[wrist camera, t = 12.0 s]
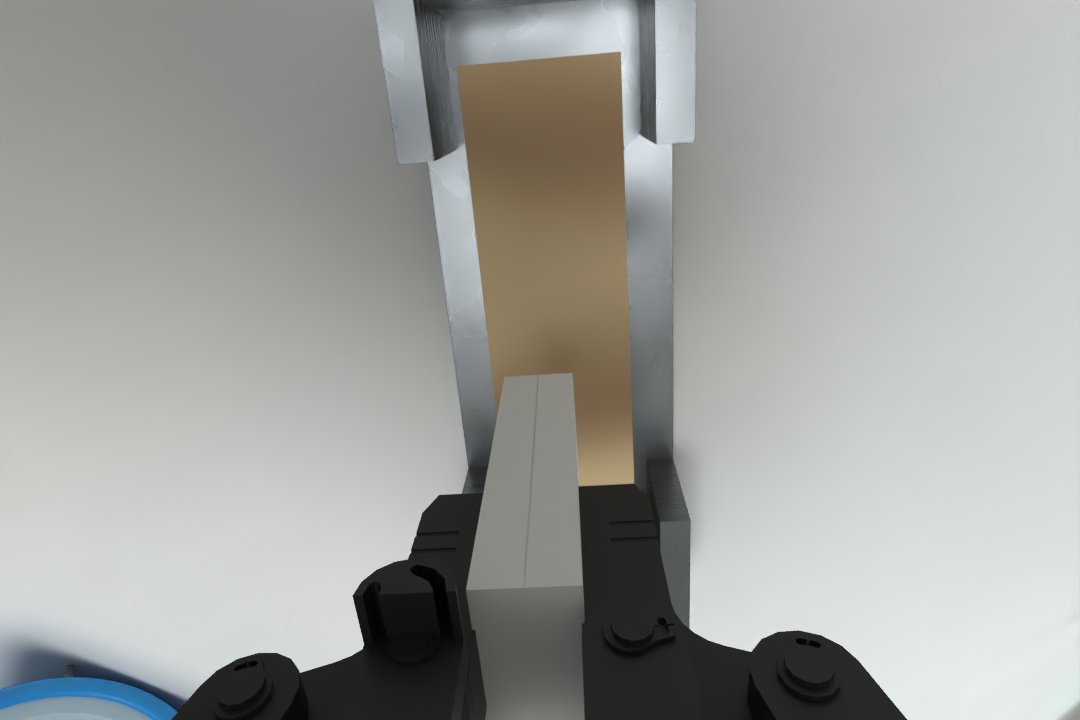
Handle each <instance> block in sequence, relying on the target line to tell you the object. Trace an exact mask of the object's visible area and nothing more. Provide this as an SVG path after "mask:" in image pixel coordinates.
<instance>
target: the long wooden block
mask: <svg viewBox="0 0 1080 720" xmlns="http://www.w3.org/2000/svg"><path fill="white" fill-rule="evenodd" d="M456 69H457V78H458V86H459V95H460V103H461V112H462V121H463V129H464V138H465V147H466V155H467V164H468V173H469V181H470V190H471V199H472V207H473V216H474V224H475V233H476V242H477V250H478V259H479V268H480V276H481V285H482V294H483V302H484V311H485V320H486V328H487V337H488V346H489V354H490V363H491V371H492V380H493V389H494V397H495V406H496V415H498V410H499V404H500V398H501V393H502V387H503V382H504V377H511V376H528V375H545V374H563V373H573V388H574V404H575V420H576V437H577V453H578V469H579V486H594V485H615V484H634V461H633V428H632V396H631V363H630V331H629V299H628V266H627V234H626V201H625V169H624V136H623V104H622V71H621V52H610V53H599V54H588V55H577V56H566V57H554V58H543V59H532V60H521V61H509V62H498V63H487V64H476V65H465V66H456Z"/></svg>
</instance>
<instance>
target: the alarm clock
mask: <svg viewBox="0 0 1080 720" xmlns="http://www.w3.org/2000/svg"><path fill="white" fill-rule="evenodd" d="M176 714H177V711H176V710H175V709H174V708H172V707H171V706H169V705H168V704H167V703H165V702H164V701H162V700H161V699H159V698H157V697H155V696H154V695H152V694H150V693H148V692H145V691H143V690H141V689H139V688H136V687H133V686H130V685H127V684H123V683H119V682H115V681H111V680H104V679H98V678H85V677H73V665H67V668H66V671H65V673H64V676H63V678H51V679H44V680H37V681H31V682H27V683H22V684H17V685H13V686H10V687H6V688H3V689H0V720H171V719H172V718H173V717H174V716H175V715H176Z"/></svg>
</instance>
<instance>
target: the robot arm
mask: <svg viewBox="0 0 1080 720" xmlns="http://www.w3.org/2000/svg"><path fill="white" fill-rule="evenodd" d="M353 599H354V603H355V608H356V612H357V616H358V620H359V624H360V628H361V633H362V637H363V641H364V647H363V649H362V650H361V651H359V652H357V653H356V654H354V655H352V656H350V657H348V658H345V659H343V660H340V661H338V662H335V663H332V664H328V665H325V666H322V667H318V668H315V669H312V670H309V671H305V672H302V673H300V672H299V670H298V668H297V667H296V665H295V664H294V663H293V661H292V660H291V659H290V658H287V657H285V656H282V655H280V654H278V653H257V654H254V655H250V656H247V657H243V658H240V659H237V660H235V661H233V662H232V663H230V664H228V665H226V666H225V667H223V668H221V669H219V670H217V671H216V672H215V673H214V674H213V675H212V676H211V677H210V678H208V679H207V680H206V681H205V682H204V683H203V684H202V685H201V686H200V687H199V688H198V689H197V690H196V691H195V693H194V694H193V695H192V696H191V697H190V698H189V700H188V701H187V702H186V703H185V704H184V705H183V707H182V708H181V709H180V710H179V711H178V712H177V714H176V715H175V716H174V717H173V718H172V719H171V720H485V718H486V720H907V719H906V718H905V717H904V715H903V714H902V713H901V712H900V711H899V709H898V708H897V707H896V706H895V705H894V703H893V702H892V701H891V700H890V698H889V697H888V696H887V695H886V694H885V692H884V691H883V690H882V689H881V688H880V686H879V685H878V684H877V683H876V682H875V680H874V679H873V678H872V677H871V675H870V674H869V673H868V672H867V671H866V669H865V668H864V667H863V666H862V665H861V663H860V662H859V661H858V660H857V659H856V658H855V657H853V656H852V655H851V654H850V653H849V652H848V651H847V650H846V649H845V648H843V647H842V646H841V645H839V644H837V643H835V642H833V641H831V640H829V639H827V638H825V637H823V636H821V635H816V634H812V633H807V632H802V631H786V632H777V633H775V634H772V635H770V636H768V637H766V638H764V639H761V641H760V642H759V643H758V644H757V646H756V647H755V648H754V649H753V651H752V652H749V651H744V650H740V649H736V648H731V647H727V646H723V645H720V644H717V643H714V642H711V641H708V640H706V639H704V638H702V637H701V636H699V635H697V634H695V633H694V632H692V631H691V630H690V629H689V628H688V627H686V626H685V625H684V624H683V623H682V621H681V620H680V619H679V617H678V616H677V615H676V613H675V611H674V608H673V606H672V603H671V599H670V594H669V590H668V585H667V580H666V576H665V571H664V566H663V562H662V557H661V552H660V548H659V543H658V541H657V534H656V529H655V524H654V520H653V515H652V510H651V506H650V501H649V499H648V498H647V497H646V496H645V495H644V494H643V493H642V492H641V491H640V489H639V488H638V487H637V486H636V485H635V484H615V485H594V486H579V469H578V453H577V437H576V420H575V404H574V388H573V373H563V374H545V375H528V376H511V377H504V382H503V387H502V393H501V398H500V404H499V410H498V415H497V421H496V426H495V432H494V437H493V443H492V448H491V454H490V460H489V465H488V471H487V476H486V482H485V487H484V493H472V494H451V495H439V496H438V497H437V498H436V499H435V500H434V501H433V502H432V503H431V505H430V506H429V507H428V508H427V509H426V510H425V511H424V512H423V513H422V517H421V520H420V523H419V526H418V530H417V536H416V537H415V539H414V542H413V546H412V549H411V554H410V555H409V558H408V560H403V561H397V562H394V563H391V564H389V565H387V566H385V567H382V568H380V569H378V570H376V571H375V572H374V573H372V574H371V575H370V576H368V577H367V578H366V579H365V580H363V581H362V582H361V584H360V585H359V587H358V588H357V590H356V591H355V593H354V595H353Z"/></svg>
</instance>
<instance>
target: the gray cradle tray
mask: <svg viewBox="0 0 1080 720" xmlns="http://www.w3.org/2000/svg"><path fill="white" fill-rule="evenodd" d="M373 2H374V9H375V16H376V22H377V29H378V36H379V42H380V49H381V56H382V62H383V69H384V76H385V82H386V89H387V96H388V103H389V109H390V116H391V123H392V129H393V136H394V143H395V149H396V156H397V163H398V164H410V163H423V162H428V166H429V174H430V181H431V189H432V196H433V204H434V211H435V219H436V226H437V234H438V241H439V249H440V256H441V264H442V271H443V279H444V286H445V294H446V302H447V309H448V317H449V324H450V332H451V339H452V347H453V354H454V362H455V369H456V377H457V384H458V392H459V399H460V407H461V414H462V422H463V429H464V437H465V444H466V452H467V459H468V467H469V469H468V473H467V476H466V480H465V484H464V488H463V492H462V494H472V493H484V487H485V482H486V476H487V471H488V465H489V460H490V454H491V448H492V443H493V437H494V432H495V426H496V421H497V415H496V406H495V397H494V389H493V380H492V371H491V363H490V354H489V346H488V337H487V328H486V320H485V311H484V302H483V294H482V285H481V276H480V268H479V259H478V250H477V242H476V233H475V224H474V216H473V207H472V199H471V190H470V181H469V173H468V164H467V155H466V147H465V138H464V129H463V121H462V112H461V103H460V95H459V86H458V78H457V69H456V66H465V65H476V64H487V63H498V62H509V61H521V60H532V59H543V58H554V57H566V56H577V55H588V54H599V53H610V52H621V71H622V104H623V136H624V169H625V201H626V234H627V266H628V299H629V331H630V363H631V396H632V428H633V461H634V484H635V485H636V486H637V487H638V488H639V489H640V491H641V492H642V493H643V494H644V495H645V496H646V497H647V498H648V499H649V501H650V506H651V510H652V515H653V520H654V524H655V529H656V534H657V541H658V543H659V548H660V552H661V557H662V562H663V566H664V571H665V576H666V580H667V585H668V590H669V594H670V599H671V603H672V606H673V608H674V611H675V613H676V615H677V616H678V617H679V619H680V620H681V621H682V623H683V624H684V625H685V626H686V627H688V628H689V608H690V517H689V514H688V510H687V507H686V503H685V500H684V496H683V493H682V489H681V486H680V483H679V479H678V476H677V472H676V469H675V465H674V462H673V249H672V144H675V143H688V142H695V64H696V0H373Z"/></svg>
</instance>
